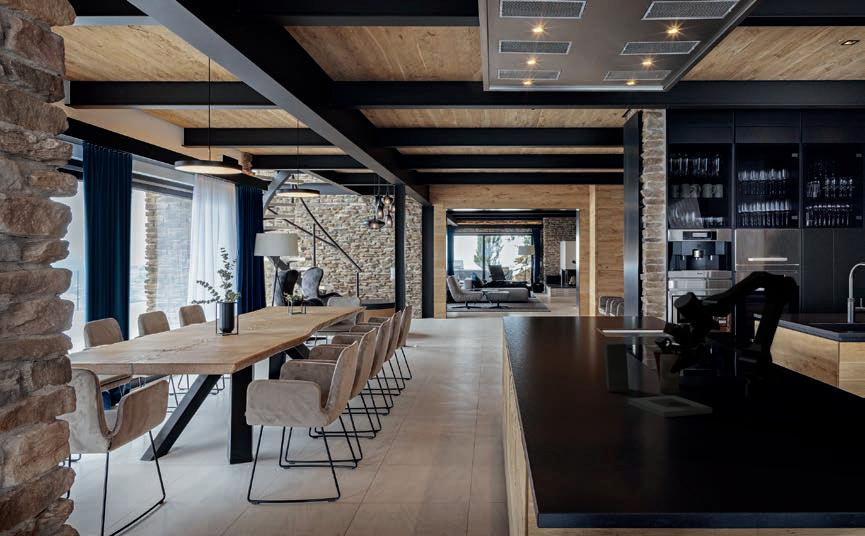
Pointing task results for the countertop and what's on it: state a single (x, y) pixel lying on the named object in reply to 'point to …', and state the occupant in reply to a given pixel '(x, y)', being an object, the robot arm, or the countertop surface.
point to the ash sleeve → (668, 375)
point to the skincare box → (616, 367)
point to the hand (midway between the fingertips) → (665, 371)
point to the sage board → (669, 406)
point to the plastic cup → (657, 358)
